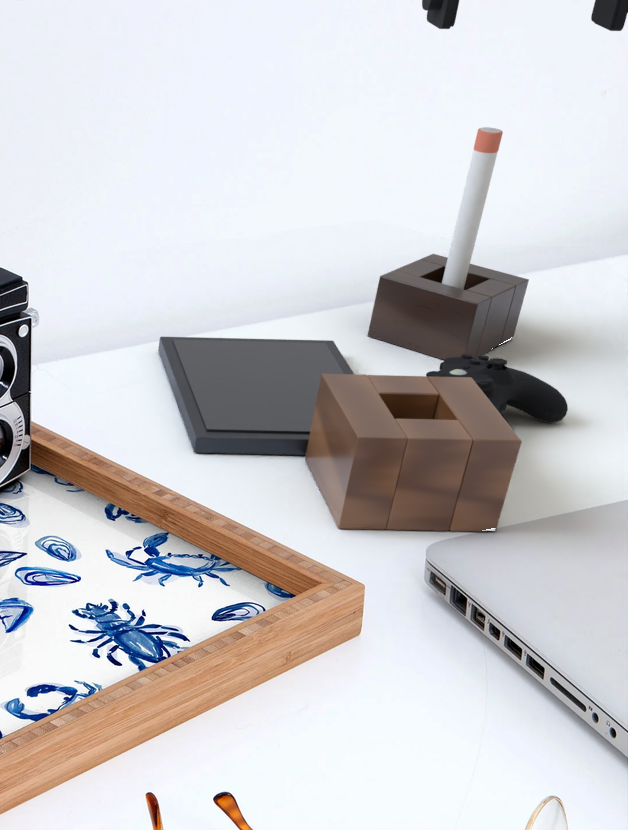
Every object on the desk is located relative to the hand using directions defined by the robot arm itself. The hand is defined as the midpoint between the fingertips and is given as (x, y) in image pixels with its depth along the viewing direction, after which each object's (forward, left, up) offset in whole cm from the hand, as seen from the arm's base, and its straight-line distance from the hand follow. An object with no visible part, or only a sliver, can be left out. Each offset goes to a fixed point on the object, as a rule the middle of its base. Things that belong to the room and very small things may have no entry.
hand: (522, 25), depth 84 cm
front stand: (+9, +23, -19) cm, 31 cm away
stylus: (0, 0, -19) cm, 19 cm away
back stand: (0, 0, -19) cm, 19 cm away
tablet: (+14, +11, -19) cm, 26 cm away
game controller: (+2, +14, -19) cm, 24 cm away
